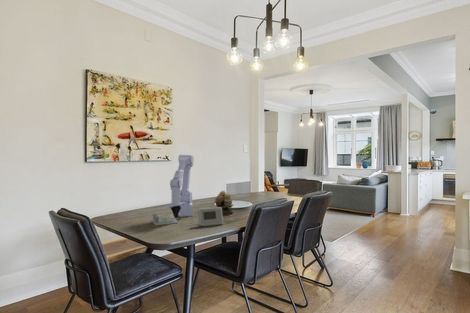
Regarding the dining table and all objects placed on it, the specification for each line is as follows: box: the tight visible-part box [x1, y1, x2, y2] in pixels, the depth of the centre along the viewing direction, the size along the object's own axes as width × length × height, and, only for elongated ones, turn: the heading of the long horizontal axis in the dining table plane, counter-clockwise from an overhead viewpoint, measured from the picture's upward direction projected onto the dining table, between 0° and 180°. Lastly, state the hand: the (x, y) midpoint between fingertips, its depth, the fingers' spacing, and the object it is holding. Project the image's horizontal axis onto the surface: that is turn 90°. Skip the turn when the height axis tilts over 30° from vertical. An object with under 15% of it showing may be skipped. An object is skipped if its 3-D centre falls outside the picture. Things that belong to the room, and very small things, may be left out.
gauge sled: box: [164, 213, 174, 219], centre depth 190 cm, size 5×5×4 cm
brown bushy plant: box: [214, 190, 234, 215], centre depth 220 cm, size 18×12×17 cm, turn 48°
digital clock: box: [197, 206, 224, 227], centre depth 184 cm, size 16×9×11 cm, turn 102°
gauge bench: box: [152, 213, 179, 226], centre depth 189 cm, size 14×11×5 cm
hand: (175, 217), depth 192 cm, fingers closed
